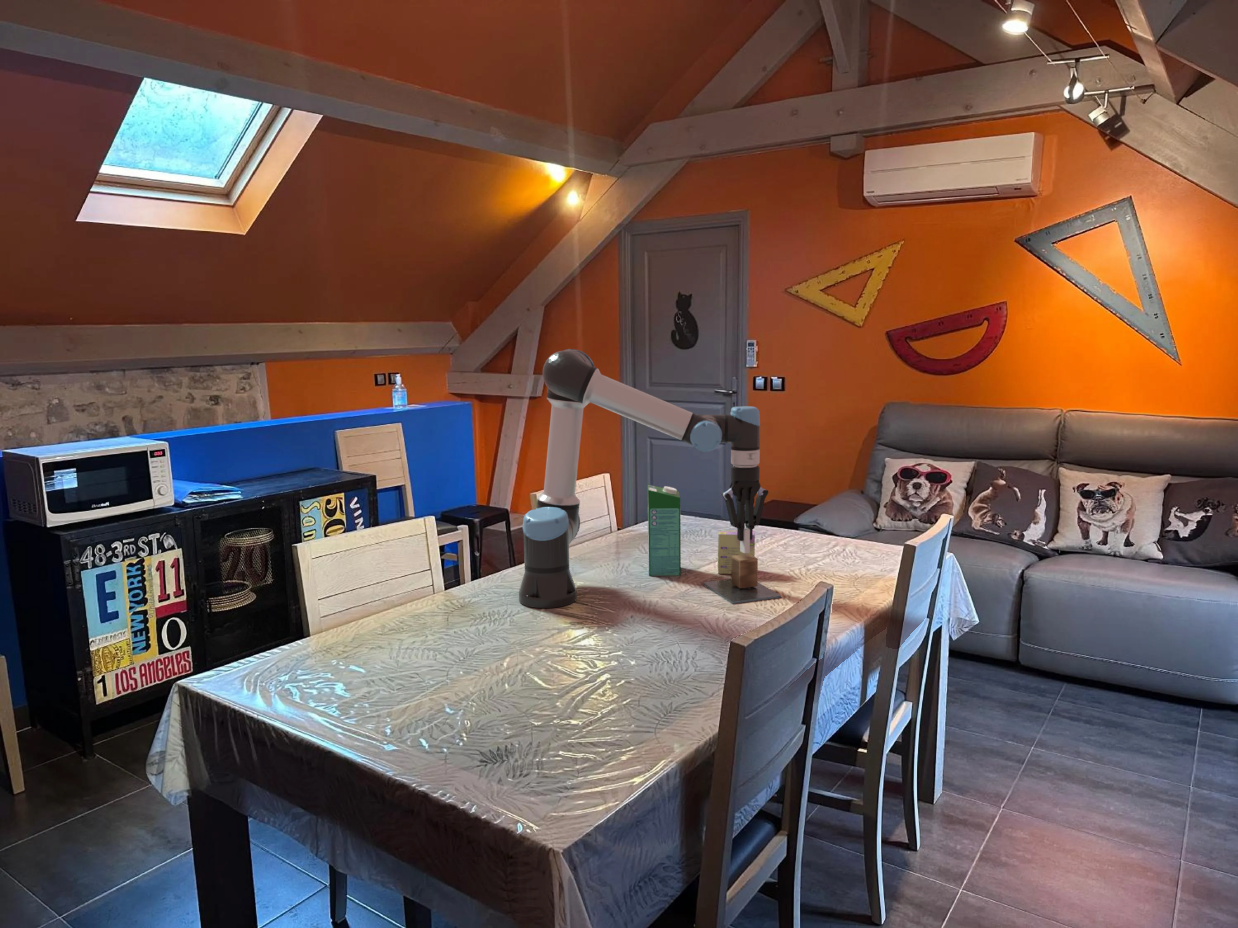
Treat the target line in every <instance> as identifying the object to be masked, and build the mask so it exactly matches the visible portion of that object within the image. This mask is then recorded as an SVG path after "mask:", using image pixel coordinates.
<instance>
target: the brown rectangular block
mask: <svg viewBox="0 0 1238 928" xmlns="http://www.w3.org/2000/svg"><path fill="white" fill-rule="evenodd" d="M758 562H759V560H758V558H757V557H754V556H752V555H750V554H744V555H734V556H731V574H730V575H731V576H730V577H731V578H730V579H731V583H732V584H734V585H735V586H737V587H739V588H746V587H755V586H757V582H758V580H759V579H758V578H759V577H758V575H759V574H758V569H759V568H758V566H759V565H758V564H759V563H758ZM758 583H759V582H758Z"/></svg>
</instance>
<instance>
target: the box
mask: <svg viewBox="0 0 1238 928" xmlns="http://www.w3.org/2000/svg"><path fill="white" fill-rule="evenodd" d="M755 543H756V535H755V531H754V530H753V534H752V540H750V553H743V552H741V551H740V541H739V540H738V538H737V530H736V529H735V530H734V529H733V530H732V529H731V530H730V529H729V530H728V529H718V533H717V572H718V573H717V574H719V575H723V574H725V575H728V574H729V575H731V556H734V555H744V554H750V555H752V556H754V557H755V553H756V552H755V551H756V548H755V547H756V546H755V545H756V544H755Z"/></svg>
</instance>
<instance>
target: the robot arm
mask: <svg viewBox="0 0 1238 928" xmlns="http://www.w3.org/2000/svg"><path fill="white" fill-rule="evenodd" d="M542 367H543V368H542V378H543V382H544V384H545V385H546V387H547V391H546V393H547V394H546V400H548V402H549V403H550V404H551V409H550V420H549V421H550V422H549V431H548V443H547V452H546V464H545V473H544V485H543V491H542V492H541V493H540V494H539V495H538V496H537V498H536V499H537V500H536V508H535V509H531V510H529V511H527V512H526V513H525V514H524V516H523V520H522V521H523V522H522V532H523V554H524V555H523V558H524V559H523V560H524V573H523V577H522V580H521V583H520V588H519V590H518V602H519V603H520V604H521V605H523V606H524V607H525V606H526V607H529V608H537V609H552V608H553V609H554V608H559V607H564V606H569V605H571V604H574V603H575V602H576V601H577V599H578V594H577V591H578V590H577V587H576V585H575V582H574V579H573V575H572V573H571V570H570V544H571V543H572V541H574V539H575V538H576V537H577V535H578V534H579V532H580V531H579V530H580V527H581V519H580V514H579V513H580V512H579V511H580V504H581V503H580V502H581V501H580V499H579V497H577V496H576V487H577V480H578V479H577V478H578V477H577V476H578V467H579V459H580V458H579V457H580V447H581V439H582V437H581V436H582V430H583V429H582V427H583V419H584V409H585V407H586V406H588V404H593V405H596V406H598V407H600V408H603V409H605V410H608V411H610V412H612V413H615V414H617V415H620V416H622V417H623V418H627V419H630V420H631V421H634V422H637V423H639V424H641V425H644V426H646V427H649V428H651V429H653V430H655V431H658V432H661V433H663V434H665V435H668V436H670V437H673V438H675V439H677V440H678V441H679V440H680V441H682V442H684V443H686V444H688V445H691V446H693V448H695V449H696V450H698V451H700V452H703V453H708V452H712V451H714V450H715V449H717V448H718V446H719V445H720V444H730V464H731V466H730V480H731V483H730V485H729V489H728V490H726V491H722V492H721V496H722V498H723V499H724V501H725V507H726V511H727V514H728V520H729V525H730V526H732V527H734V528H736V529H737V538H738V540H739V541H740V551H741V552H743V553H750V540H752V534H753V531H754V529H755V527H756V526H759V525H760V522H761V518H762V514H763V509H764V506H765V505H764V504H765V501H766V498H767V496H768V495H769V490H767V489H765V488H763V487H761V483H760V478H761V476H760V471H761V469H760V466H759V464H760V461H761V460H760V458H761V456H760V455H761V454H760V453H761V450H760V448H761V447H760V446H761V445H760V443H761V441H760V440H761V420H760V419H761V416H760V414H761V413H760V410H759V409H758V407H756V406H750V405H749V406H747V405H745V406H744V405H742V406H733V407H731V409H730V412H729V413H728V414H700V413H698V414H696V413H694V412H692V411H689V410H686V409H685V408H682V407H680V406H678V405H675V404H672V403H671V402H667V401H665V400H663V399H661V398H658V397H656V396H654V395H651V394H649V393H647V392H644V391H642V390H640V389H637V388H635V387H632V386H630V385H628V384H625V383H623V382H620V381H618V380H615V379H613V378H610V377H609V376H606V375H604V374H602V373H601V371H600V370H599V368H598V367H595V364H594V362H593V360H592V359H591V357H590V356H589V355H588V354H587V353H585V352H583V351H581V350H580V349H579V350H578V349H575V348H573V349H571V348H568V349H564V350H559V351H556V352H554V353H552V354H551V355H550V356H549V357H548V358H547V359H546V360H545V363H544V365H543V366H542ZM733 497H734V498H735V503H736V507H735V503H734V499H733ZM755 497H756V498H755Z"/></svg>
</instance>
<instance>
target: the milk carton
mask: <svg viewBox="0 0 1238 928" xmlns="http://www.w3.org/2000/svg"><path fill="white" fill-rule="evenodd" d="M681 522H682V521H681V496H680V492H679V491H678V490H677V488H675V487H672V486H666V485H664V486H663V487H659V486H656V485H652V484H647V523H648V524H647V536H648V539H647V541H648V543H647V546H648V547H647V549H648V551H647V552H648V553H647V554H648V555H647V556H648V557H647V558H648V575H649V577H655V576H657V577H661V576H663V577H664V576H665V577H667V576H668V577H670V576H671V577H673V576H677V577H678V576H681V575H682V572H681V571H682V568H681V564H682V563H681V560H682V558H681V553H682V552H681V550H682V549H681V544H682V543H681V535H682V534H681V531H682V530H681V527H682V526H681V525H682V524H681Z"/></svg>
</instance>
